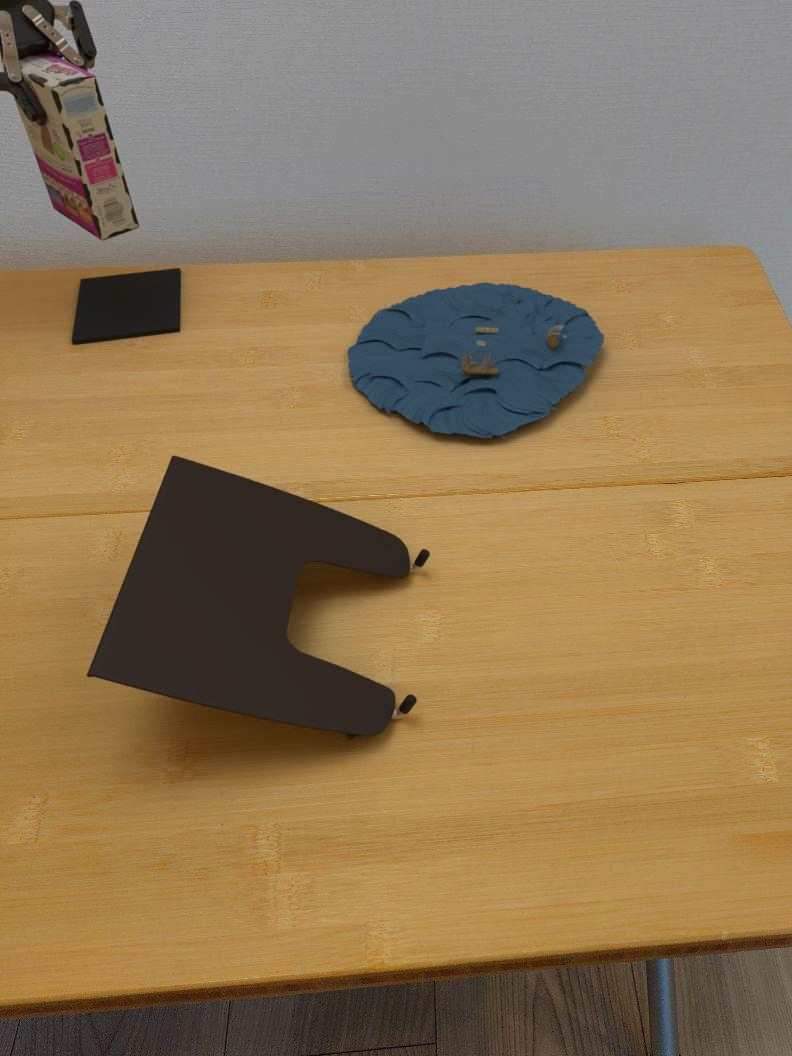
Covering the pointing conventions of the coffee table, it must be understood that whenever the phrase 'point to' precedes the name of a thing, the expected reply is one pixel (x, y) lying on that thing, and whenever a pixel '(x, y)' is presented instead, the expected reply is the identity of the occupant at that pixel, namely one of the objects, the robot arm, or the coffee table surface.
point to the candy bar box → (77, 147)
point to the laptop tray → (242, 603)
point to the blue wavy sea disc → (474, 357)
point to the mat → (128, 306)
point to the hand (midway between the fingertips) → (69, 113)
